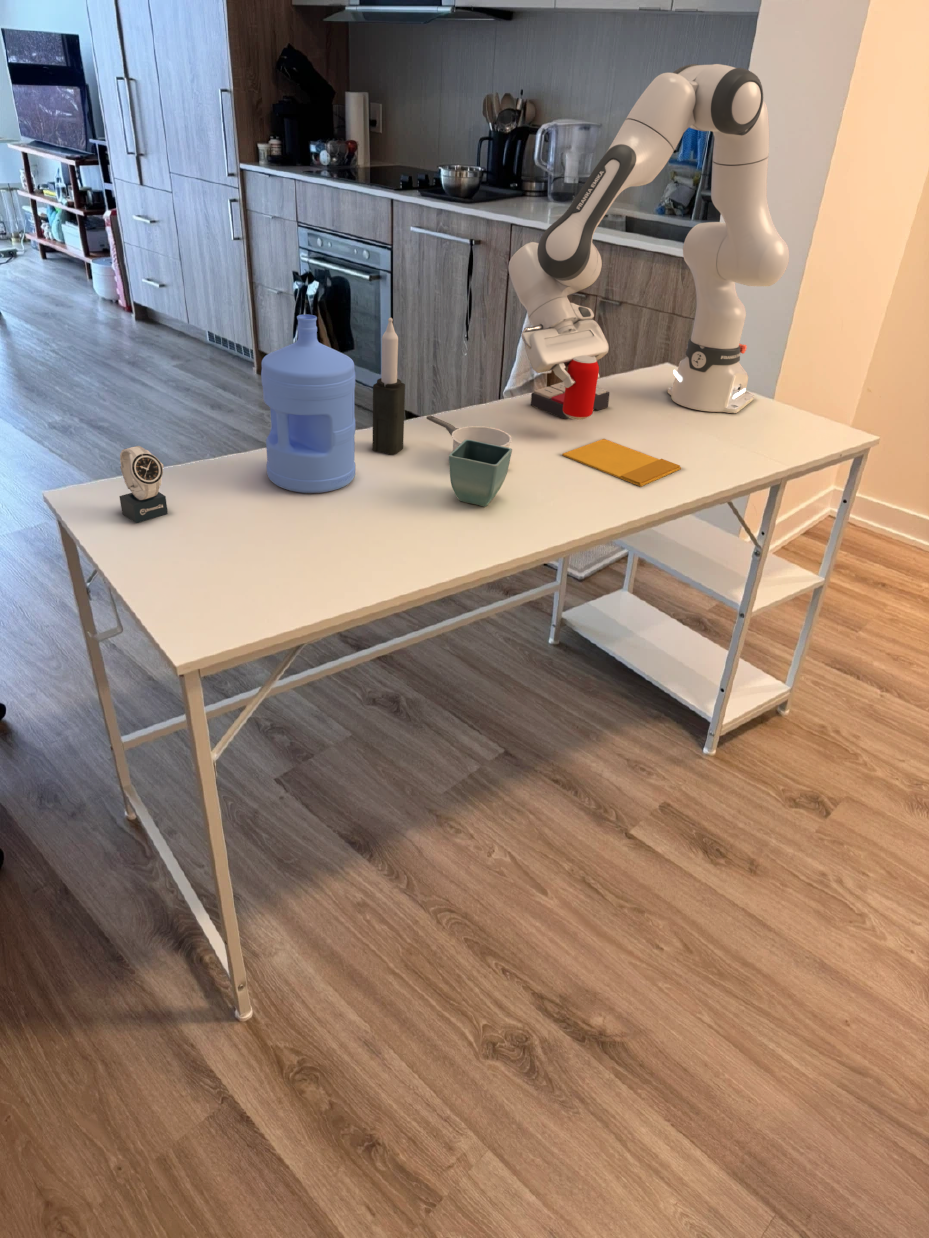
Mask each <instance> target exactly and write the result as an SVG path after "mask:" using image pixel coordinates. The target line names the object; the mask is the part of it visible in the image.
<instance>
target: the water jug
mask: <svg viewBox="0 0 929 1238" xmlns="http://www.w3.org/2000/svg"><path fill="white" fill-rule="evenodd" d="M296 319H297V324H298V325H297V335H298V336H297V340H296V341H295V342H293V343H290V344H288V345H286V346H283V347H280V348H279V349H277V350H274V351H272V352H269V353H267V354H266V355H265V356H264V357H263V358H262V360H261V371H260V378H261V385H262V386H261V387H262V394H263V395H262V396H263V402H264V404H265V405H266V406H268V407H269V409H270V410H269V411H270V431H269V434H268V435H267V437H266V439H265V445H266V446H265V447H266V449H265V450H266V475H267V478H268V479H269V480H270V482H272V483H273V484H274V485H275V486H277V487H279V488H282V489H284V490H287V491H290V492H296V493H302V494H303V493H304V494H319V493H327V492H332V491H336V490H339V489H342V488H344V487H346V486H348V485H349V484H350V483H352V482H353V480H354V479H355V476H356V462H355V461H356V460H355V456H356V455H355V447H356V445H355V443H356V442H355V440H356V439H355V438H356V437H355V435H356V416H355V413H356V412H355V390H356V371H355V361H354V360H353V359H352V358H351V357H350V356H348V355H347V354H345V353H343V352H341V351H338V350H336V349H334V348H332V347H330V346H327V345H325V344H323V343H321V342H319V339H318V333H317V332H318V326H317V320H318V317H317V315H313V314H307V313H306V314H305V313H304V314H298V315H297V316H296Z"/></svg>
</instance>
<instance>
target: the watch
mask: <svg viewBox="0 0 929 1238" xmlns="http://www.w3.org/2000/svg"><path fill="white" fill-rule="evenodd" d="M119 463H120V466H119V469H120V472H121V475H122V477H123V480H124V483H125V485H126V487H127V489H128V490H129V491H130V492H129V493H125V494H122V495H119V503H120V509H121V514H122V515H123V516H125V517H126V518H127V519H128V520H130V521H131V522H133V523H134V524H139V523H142V522H145V521H148V520H152V519H156V518H158V517H161V516H165V515H168V514H169V512H168V505H167V497H166V495H165V494H163V493H161V492H160V486H162V478H163V475H164V468H165V467H164V464H163V463H162V462H161V461H160V460H159V459H158V457H156V456H155V455H154V454H153V453H151V451H149V450H148V449H145V448H144V447H142V446H140V445H136V446H132V447H127V448H123V449H121V451H120V453H119Z"/></svg>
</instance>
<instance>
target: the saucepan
mask: <svg viewBox="0 0 929 1238" xmlns="http://www.w3.org/2000/svg"><path fill="white" fill-rule="evenodd" d="M425 419H426V420H428V421H430V422H432V423H433V424H436V425H438V426H440V427H442V428H444V429H445V430H446V431H447V432H448V434H449V435H450V437H451V438H452V452H453V451H454V450H455V449H456V448H457V447H458V446H459V445H460V444H461V443H462V442H463V441H464V440H465V439H468V440H474V441H479V442H483V443H487V444H492V445H497V446H502V447H507V448H510V445H511V443H512V441H513V437H512V436H511V435H510V433H509V432H506V431H504V430H502V429H499V428H496V427H491V426H483V425H473V426H472V425H469V426H463V427H456V426H455V425H453V424H452V423H450V422H447V421H444V420H443V419H440V418H438V417H436V416H434V415H431V414H429V415H426V418H425Z"/></svg>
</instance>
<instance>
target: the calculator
mask: <svg viewBox="0 0 929 1238" xmlns="http://www.w3.org/2000/svg"><path fill="white" fill-rule="evenodd" d="M565 387H566V386H565V384H564V382H563V381H561V382H557V383H555V384H552V385H550V386H545V387H542V388H539V389H535V390H534V391H533V392H531V394H530V406H531V407H534V408H536V409H538V410H541V411H544V412H546V413H549V414H551V415H552V416H555V417H558V418H561V419H563V420H568V419H570V418H569V417H567V416H566V415H565V414H564V413H563V403H564V395H565ZM610 395H611V393H610V391H608V390H607V389H604V388H601V387H599V386H596V393H595V399H594V406H593V411H594V410H596V411H601V410H603V409H606V408H609V401H610Z"/></svg>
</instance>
